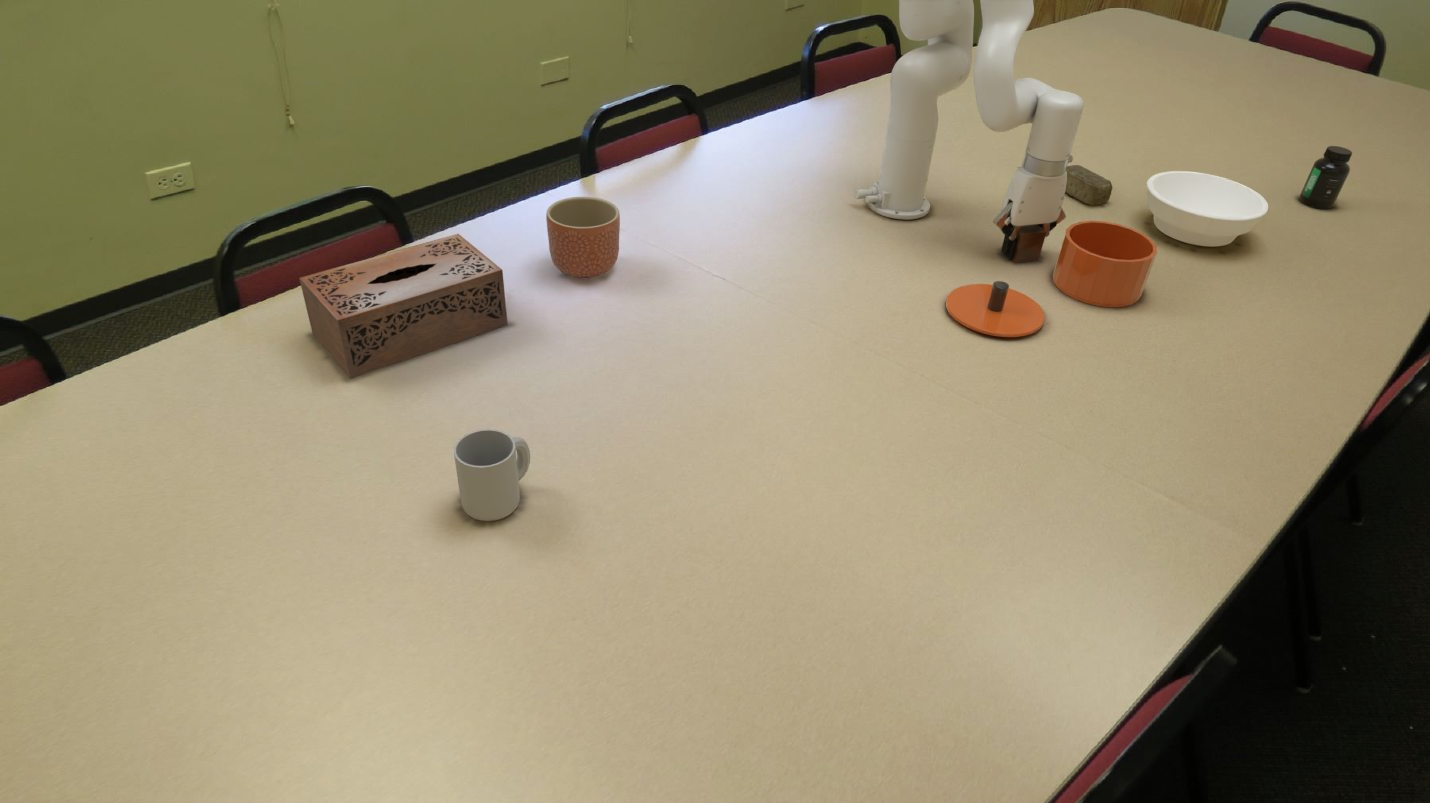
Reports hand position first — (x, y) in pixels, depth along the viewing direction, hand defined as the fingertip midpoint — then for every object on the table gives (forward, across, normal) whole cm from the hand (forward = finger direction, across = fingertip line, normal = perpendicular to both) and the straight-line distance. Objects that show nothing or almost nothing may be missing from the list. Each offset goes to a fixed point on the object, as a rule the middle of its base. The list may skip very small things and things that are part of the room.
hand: (1020, 253), depth 181 cm
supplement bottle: (+1, -79, -9) cm, 80 cm away
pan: (0, -8, +13) cm, 15 cm away
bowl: (+1, -41, -2) cm, 41 cm away
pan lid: (0, +16, +18) cm, 24 cm away
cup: (+1, +102, +45) cm, 111 cm away
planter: (+1, +81, -11) cm, 82 cm away
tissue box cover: (+1, +111, +3) cm, 111 cm away
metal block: (0, 0, 0) cm, 0 cm away
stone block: (+1, -28, -22) cm, 36 cm away
